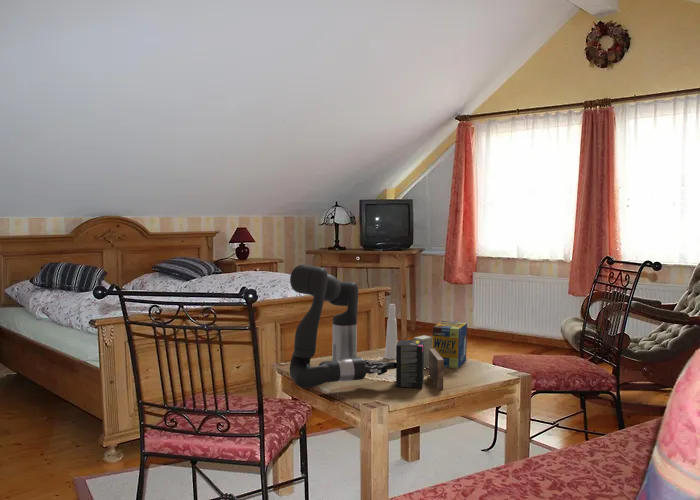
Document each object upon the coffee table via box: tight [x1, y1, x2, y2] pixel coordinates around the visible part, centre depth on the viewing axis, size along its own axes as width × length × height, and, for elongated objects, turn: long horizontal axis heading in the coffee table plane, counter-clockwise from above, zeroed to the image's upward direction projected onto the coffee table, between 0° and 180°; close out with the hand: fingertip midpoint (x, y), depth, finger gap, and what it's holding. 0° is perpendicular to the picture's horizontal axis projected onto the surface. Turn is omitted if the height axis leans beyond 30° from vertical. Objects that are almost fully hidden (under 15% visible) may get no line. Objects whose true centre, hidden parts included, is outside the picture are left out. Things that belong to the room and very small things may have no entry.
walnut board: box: [428, 349, 445, 390], centre depth 239 cm, size 2×18×10 cm, turn 3°
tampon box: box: [395, 339, 425, 389], centre depth 235 cm, size 11×9×15 cm
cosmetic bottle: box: [383, 303, 398, 360], centre depth 276 cm, size 6×6×22 cm
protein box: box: [432, 320, 468, 370], centre depth 267 cm, size 10×15×16 cm
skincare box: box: [413, 335, 433, 368], centre depth 258 cm, size 6×4×12 cm
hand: (395, 365), depth 233 cm, fingers closed
